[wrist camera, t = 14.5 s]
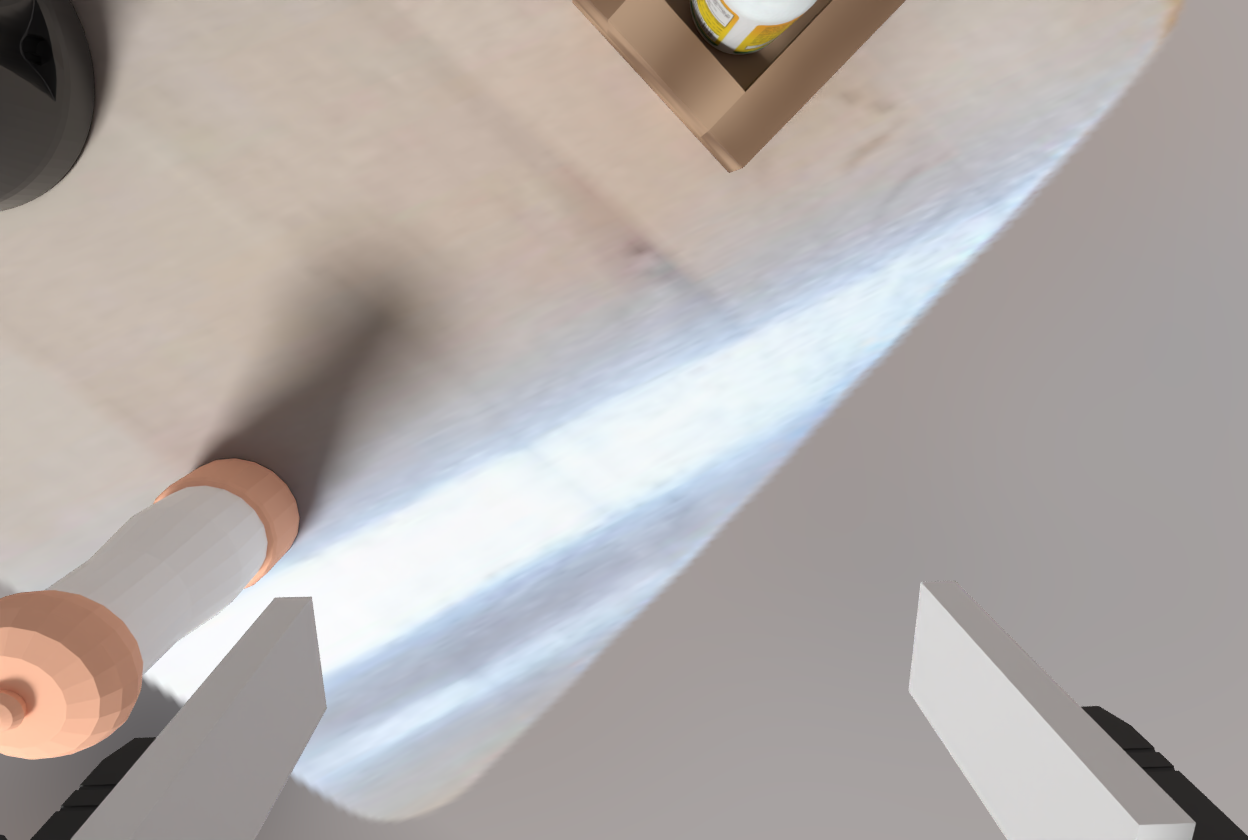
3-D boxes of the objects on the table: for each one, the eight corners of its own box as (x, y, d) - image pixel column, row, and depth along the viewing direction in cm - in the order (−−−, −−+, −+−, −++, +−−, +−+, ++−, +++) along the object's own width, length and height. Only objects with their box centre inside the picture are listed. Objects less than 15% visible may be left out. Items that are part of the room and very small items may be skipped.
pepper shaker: (323, 506, 45) (133, 706, 27) (257, 589, 46) (32, 834, 28) (220, 434, 44) (-57, 592, 25) (155, 521, 45) (-153, 733, 26)
